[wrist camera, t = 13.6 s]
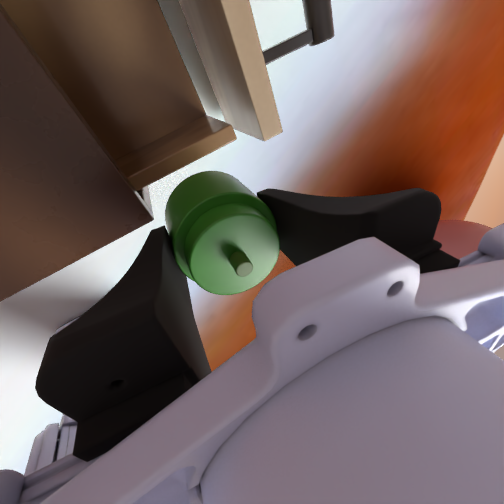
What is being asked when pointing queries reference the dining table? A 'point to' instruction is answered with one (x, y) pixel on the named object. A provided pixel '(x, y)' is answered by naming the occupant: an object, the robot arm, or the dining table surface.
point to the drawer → (161, 74)
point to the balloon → (459, 236)
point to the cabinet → (52, 174)
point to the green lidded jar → (221, 233)
